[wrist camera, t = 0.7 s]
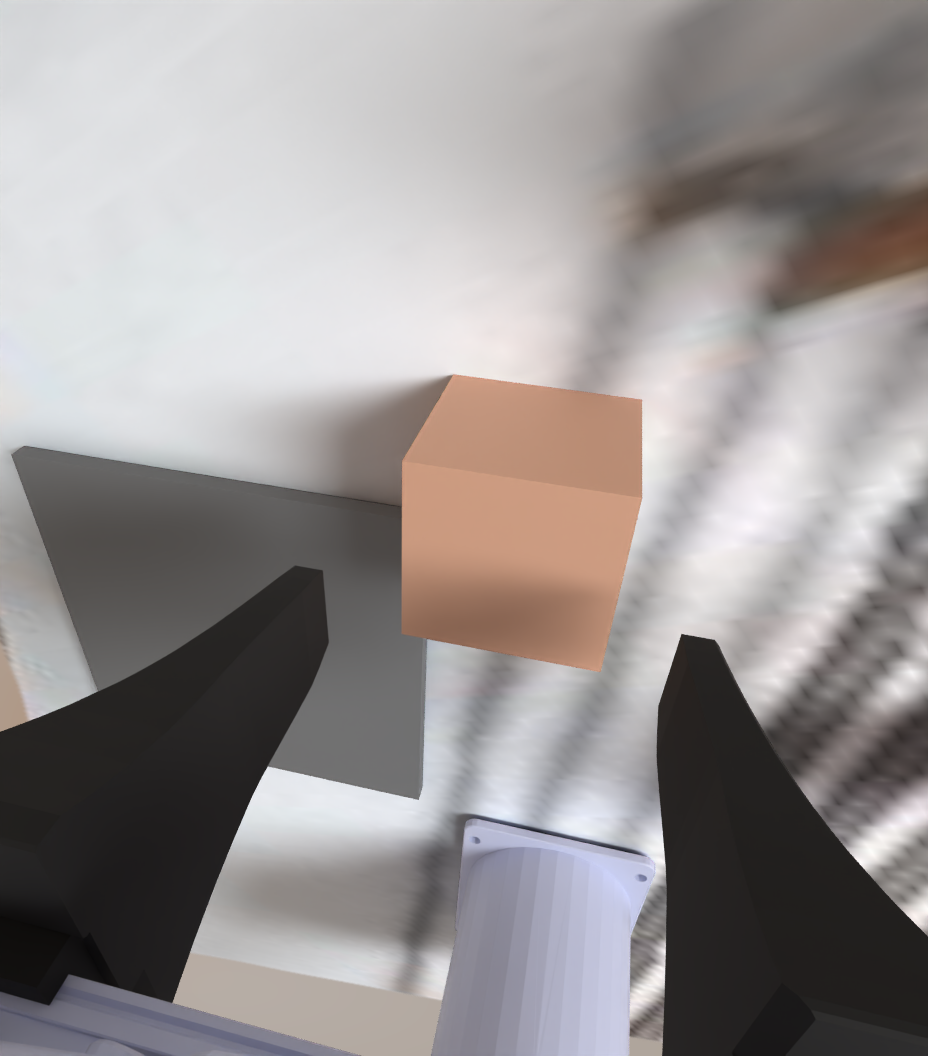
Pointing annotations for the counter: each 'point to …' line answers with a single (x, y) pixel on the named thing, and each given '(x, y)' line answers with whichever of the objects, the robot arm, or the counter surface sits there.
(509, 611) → the cube
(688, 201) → the counter surface
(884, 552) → the counter surface
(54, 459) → the mat
